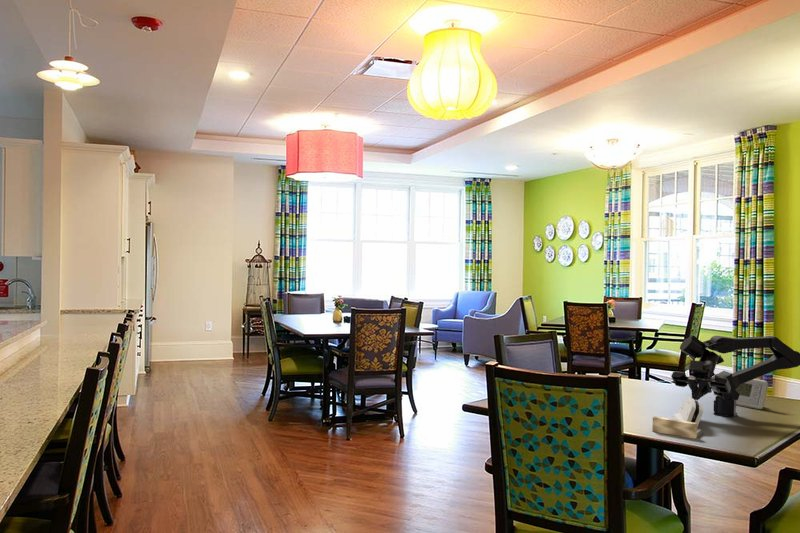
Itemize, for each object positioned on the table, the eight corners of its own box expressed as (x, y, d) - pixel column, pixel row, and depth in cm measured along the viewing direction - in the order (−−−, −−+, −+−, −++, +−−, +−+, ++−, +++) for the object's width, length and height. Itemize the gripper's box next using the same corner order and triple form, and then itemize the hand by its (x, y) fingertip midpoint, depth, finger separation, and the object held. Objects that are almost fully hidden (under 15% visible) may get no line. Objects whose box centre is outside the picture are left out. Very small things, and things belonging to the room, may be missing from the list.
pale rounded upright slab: (672, 417, 232) (683, 391, 231) (685, 423, 231) (696, 397, 230) (679, 429, 216) (691, 401, 215) (694, 435, 215) (706, 407, 214)
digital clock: (718, 401, 260) (719, 374, 260) (735, 400, 264) (736, 373, 264) (754, 411, 245) (755, 382, 245) (772, 409, 249) (773, 381, 249)
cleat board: (702, 433, 212) (702, 419, 212) (695, 438, 206) (695, 424, 206) (659, 426, 220) (660, 412, 220) (652, 431, 214) (652, 417, 214)
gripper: (673, 348, 239) (660, 383, 232) (728, 354, 226) (715, 391, 219) (682, 368, 245) (669, 402, 238) (736, 375, 232) (724, 411, 224)
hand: (693, 401), depth 229 cm, fingers closed
